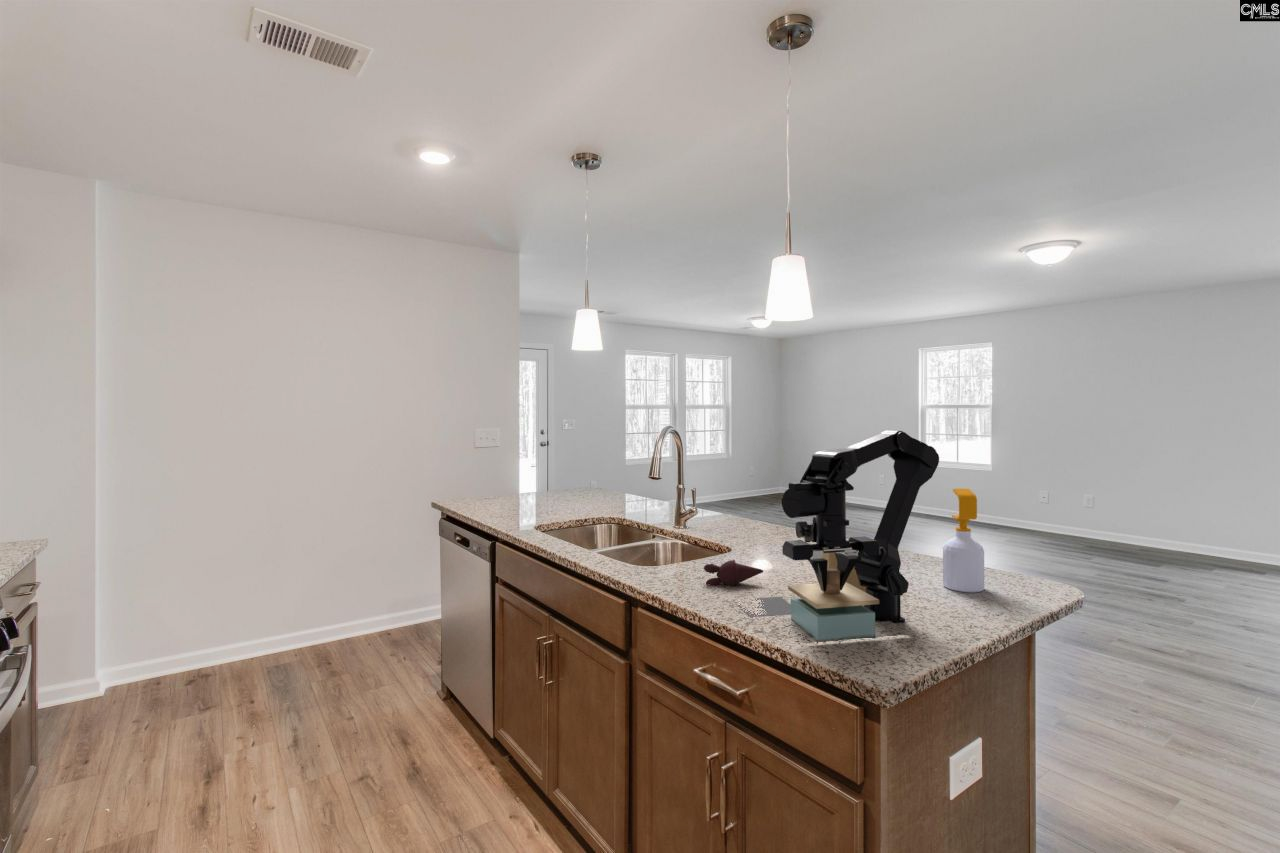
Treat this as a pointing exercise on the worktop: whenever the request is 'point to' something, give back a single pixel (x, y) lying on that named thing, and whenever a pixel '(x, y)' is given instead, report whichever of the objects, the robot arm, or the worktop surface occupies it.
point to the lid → (832, 593)
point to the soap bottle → (964, 550)
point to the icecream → (730, 573)
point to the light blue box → (833, 620)
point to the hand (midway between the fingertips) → (831, 590)
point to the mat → (772, 607)
